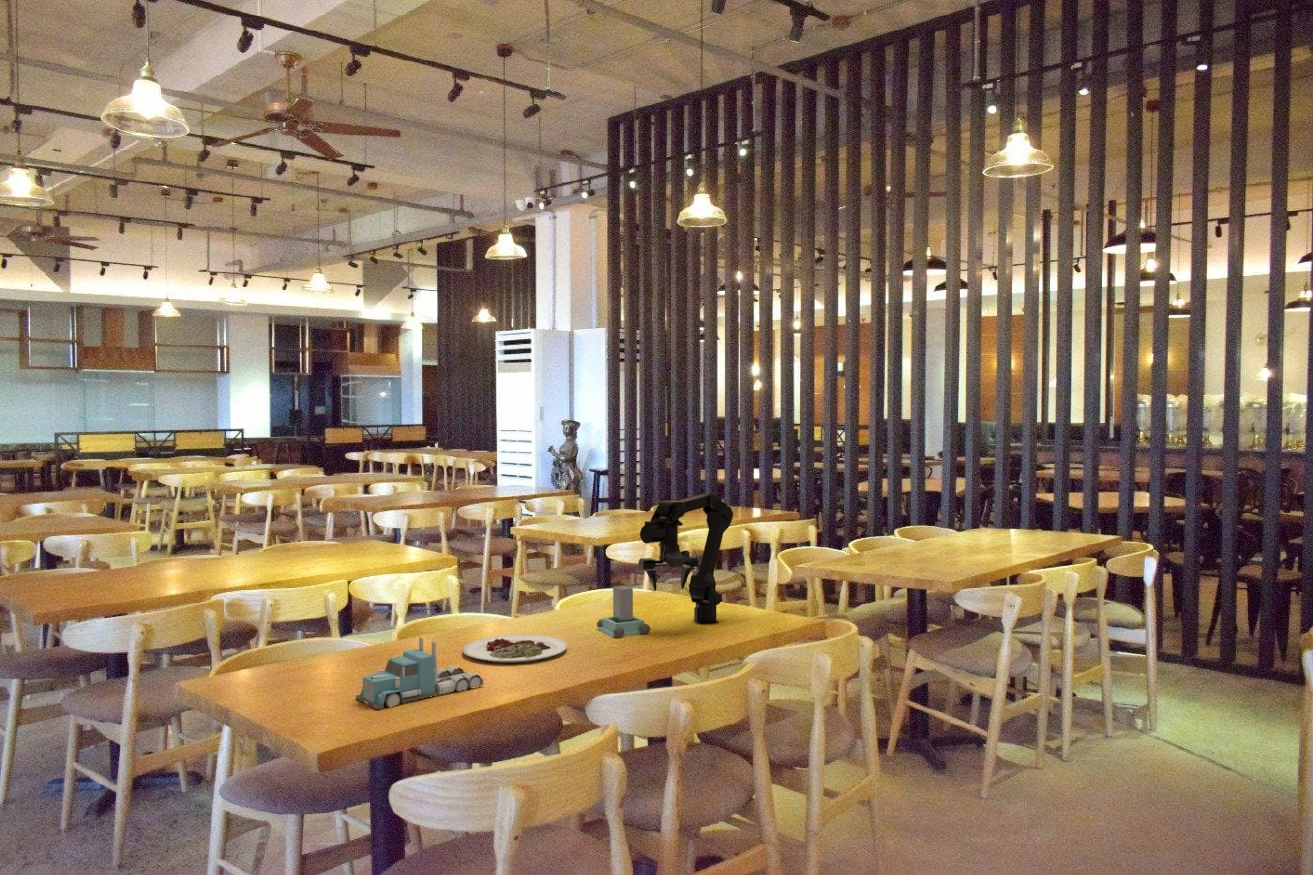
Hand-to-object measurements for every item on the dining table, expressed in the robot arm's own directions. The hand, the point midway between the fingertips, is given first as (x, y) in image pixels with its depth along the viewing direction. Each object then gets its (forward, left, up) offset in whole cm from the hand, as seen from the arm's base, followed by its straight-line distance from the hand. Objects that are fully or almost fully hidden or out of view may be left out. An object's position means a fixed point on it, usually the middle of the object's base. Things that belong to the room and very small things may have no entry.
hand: (668, 589), depth 304 cm
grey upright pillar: (+14, -4, -12) cm, 19 cm away
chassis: (+14, -4, -13) cm, 20 cm away
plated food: (+51, +9, -14) cm, 54 cm away
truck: (+81, +41, -14) cm, 92 cm away
